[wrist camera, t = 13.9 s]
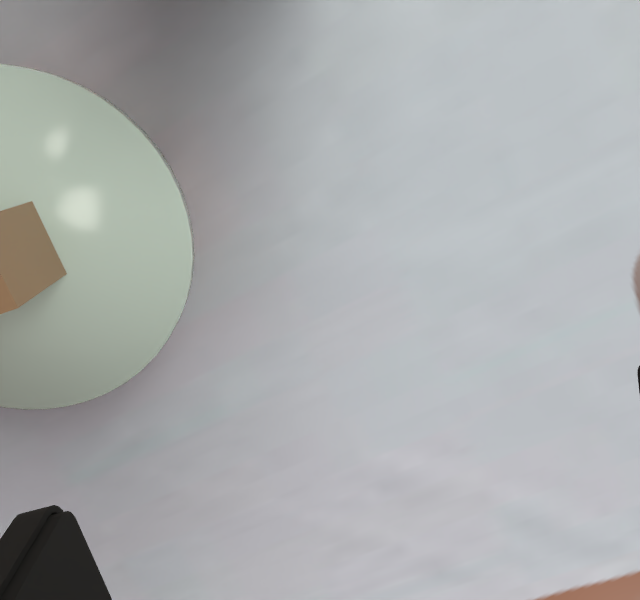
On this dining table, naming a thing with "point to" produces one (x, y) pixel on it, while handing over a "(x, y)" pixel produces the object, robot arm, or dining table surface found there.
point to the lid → (82, 243)
